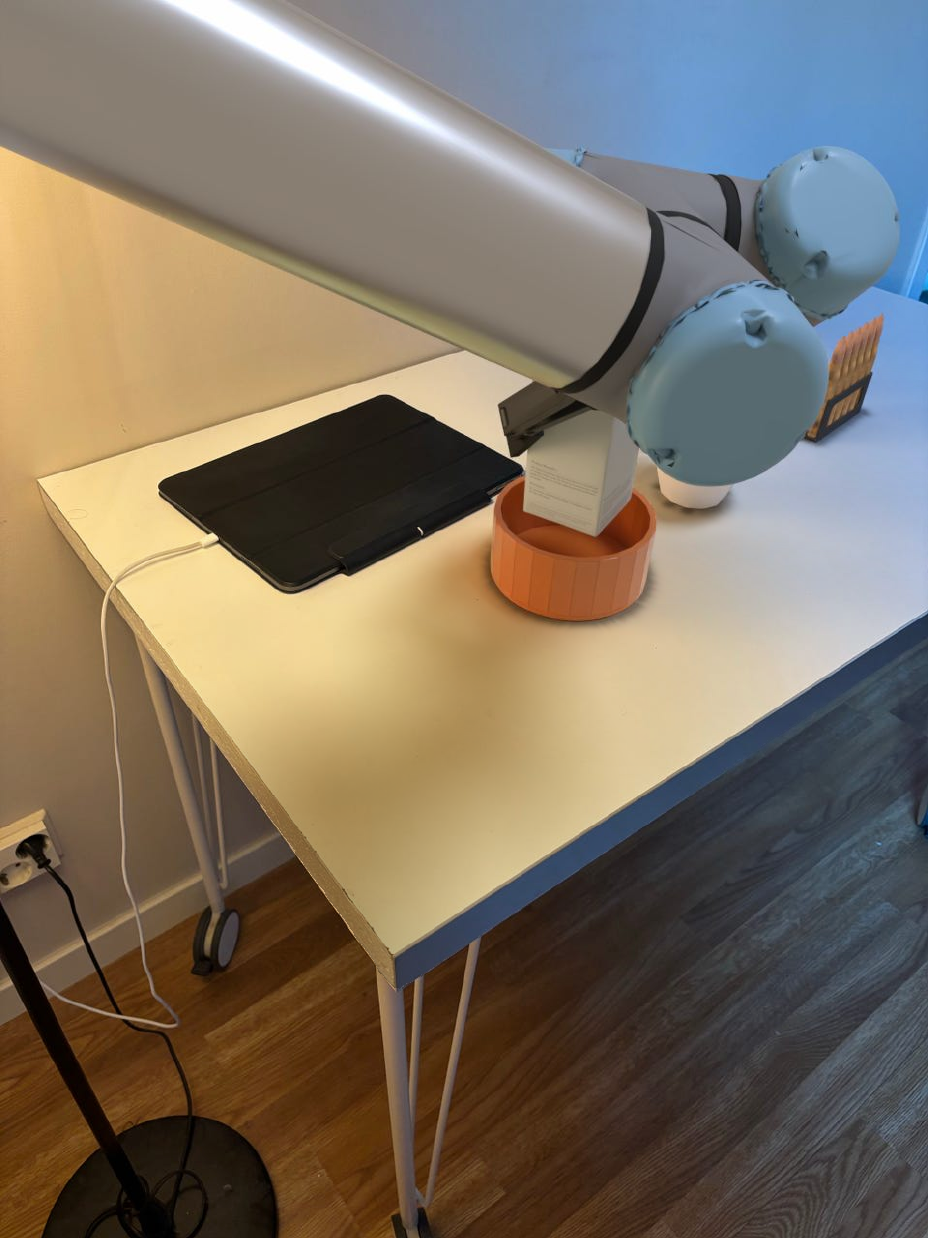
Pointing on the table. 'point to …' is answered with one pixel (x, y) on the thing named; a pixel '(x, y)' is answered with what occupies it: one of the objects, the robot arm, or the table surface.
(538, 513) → the white packaging box
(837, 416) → the ammunition clip
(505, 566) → the orange round bowl
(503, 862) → the table surface
